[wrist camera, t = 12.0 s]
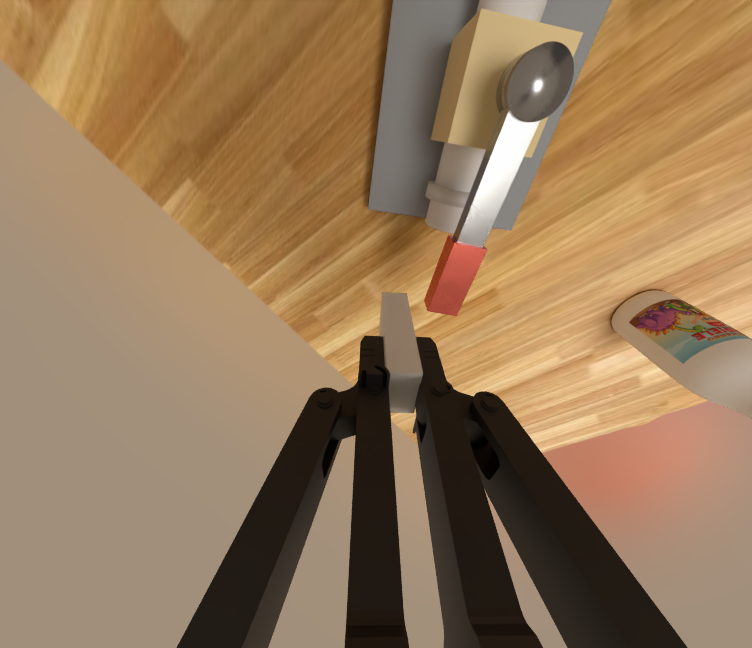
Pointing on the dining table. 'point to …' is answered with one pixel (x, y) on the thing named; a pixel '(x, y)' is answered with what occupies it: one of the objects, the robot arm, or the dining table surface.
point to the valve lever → (500, 165)
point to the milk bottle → (690, 347)
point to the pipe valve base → (462, 98)
